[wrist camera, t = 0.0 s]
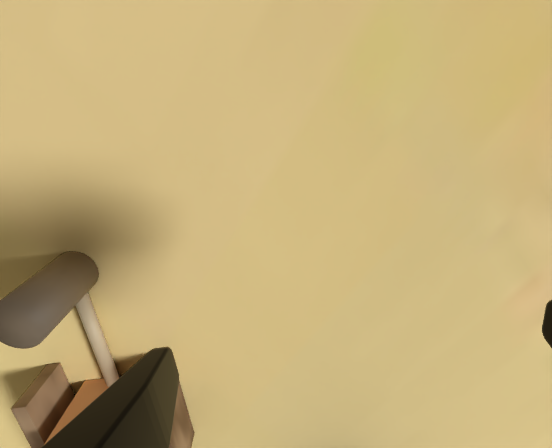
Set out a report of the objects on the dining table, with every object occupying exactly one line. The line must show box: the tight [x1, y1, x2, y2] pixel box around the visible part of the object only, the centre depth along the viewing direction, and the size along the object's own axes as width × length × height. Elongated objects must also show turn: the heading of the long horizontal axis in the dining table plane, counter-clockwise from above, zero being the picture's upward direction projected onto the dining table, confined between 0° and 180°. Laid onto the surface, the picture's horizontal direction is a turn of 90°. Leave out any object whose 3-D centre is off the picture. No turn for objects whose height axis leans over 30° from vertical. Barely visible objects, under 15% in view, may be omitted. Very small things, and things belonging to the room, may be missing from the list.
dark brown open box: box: [11, 363, 194, 448], centre depth 26 cm, size 9×10×4 cm
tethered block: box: [0, 251, 121, 444], centre depth 23 cm, size 16×5×6 cm, turn 7°
